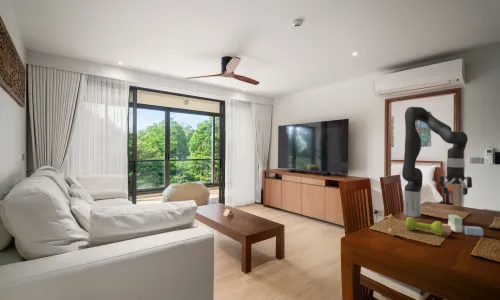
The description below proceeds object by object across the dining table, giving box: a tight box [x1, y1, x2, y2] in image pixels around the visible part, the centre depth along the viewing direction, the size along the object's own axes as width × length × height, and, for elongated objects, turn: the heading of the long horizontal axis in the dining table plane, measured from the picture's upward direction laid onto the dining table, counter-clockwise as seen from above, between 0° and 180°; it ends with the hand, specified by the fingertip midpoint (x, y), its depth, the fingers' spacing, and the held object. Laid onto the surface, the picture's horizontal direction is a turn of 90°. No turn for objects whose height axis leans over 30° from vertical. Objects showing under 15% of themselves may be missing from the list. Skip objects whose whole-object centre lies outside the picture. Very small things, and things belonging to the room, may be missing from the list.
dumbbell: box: [405, 216, 444, 237], centre depth 128 cm, size 16×8×7 cm, turn 51°
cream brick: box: [447, 220, 464, 233], centre depth 131 cm, size 3×7×4 cm, turn 165°
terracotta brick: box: [442, 223, 452, 234], centre depth 129 cm, size 7×3×4 cm, turn 69°
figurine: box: [382, 213, 401, 236], centre depth 123 cm, size 8×6×12 cm
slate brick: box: [462, 225, 484, 237], centre depth 124 cm, size 7×3×4 cm, turn 70°
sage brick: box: [448, 213, 463, 225], centre depth 131 cm, size 3×7×4 cm, turn 160°
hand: (455, 194), depth 132 cm, fingers open, 8 cm apart
